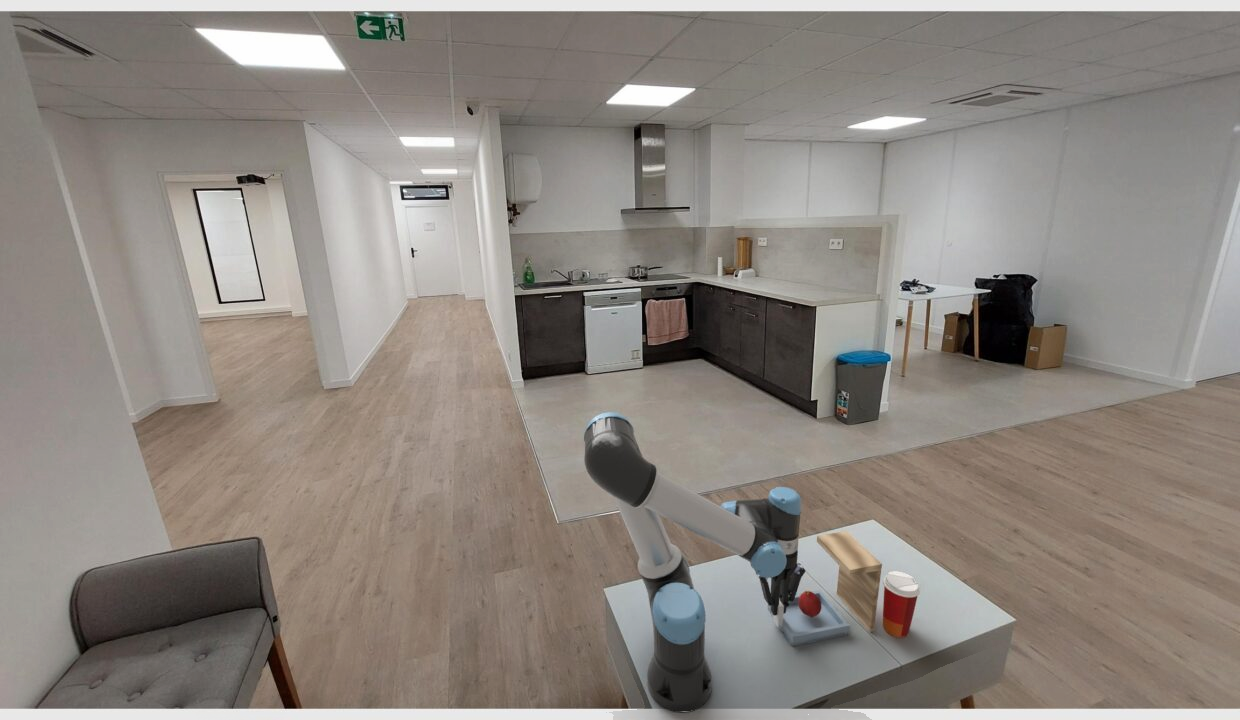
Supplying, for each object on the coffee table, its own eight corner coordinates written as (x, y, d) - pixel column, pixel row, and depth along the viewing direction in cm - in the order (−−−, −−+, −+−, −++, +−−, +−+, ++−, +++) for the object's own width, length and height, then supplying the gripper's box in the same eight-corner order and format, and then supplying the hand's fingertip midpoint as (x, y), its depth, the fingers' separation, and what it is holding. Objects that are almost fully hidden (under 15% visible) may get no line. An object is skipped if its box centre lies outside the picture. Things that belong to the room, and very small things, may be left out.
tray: (792, 646, 123) (792, 636, 123) (767, 608, 136) (768, 599, 135) (848, 634, 126) (849, 625, 125) (819, 598, 139) (820, 589, 138)
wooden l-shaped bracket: (842, 637, 125) (849, 569, 120) (812, 598, 139) (817, 536, 133) (873, 631, 127) (882, 564, 121) (840, 593, 140) (846, 531, 135)
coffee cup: (904, 617, 131) (911, 570, 127) (919, 642, 123) (927, 593, 119) (872, 615, 132) (877, 569, 128) (885, 640, 124) (891, 592, 120)
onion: (804, 606, 135) (800, 581, 134) (826, 612, 131) (821, 585, 130) (797, 620, 131) (793, 593, 129) (819, 626, 127) (815, 599, 126)
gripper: (765, 560, 118) (761, 638, 124) (813, 552, 120) (807, 629, 127) (751, 541, 125) (748, 616, 131) (797, 534, 127) (792, 608, 134)
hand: (777, 622), depth 129 cm, fingers closed
